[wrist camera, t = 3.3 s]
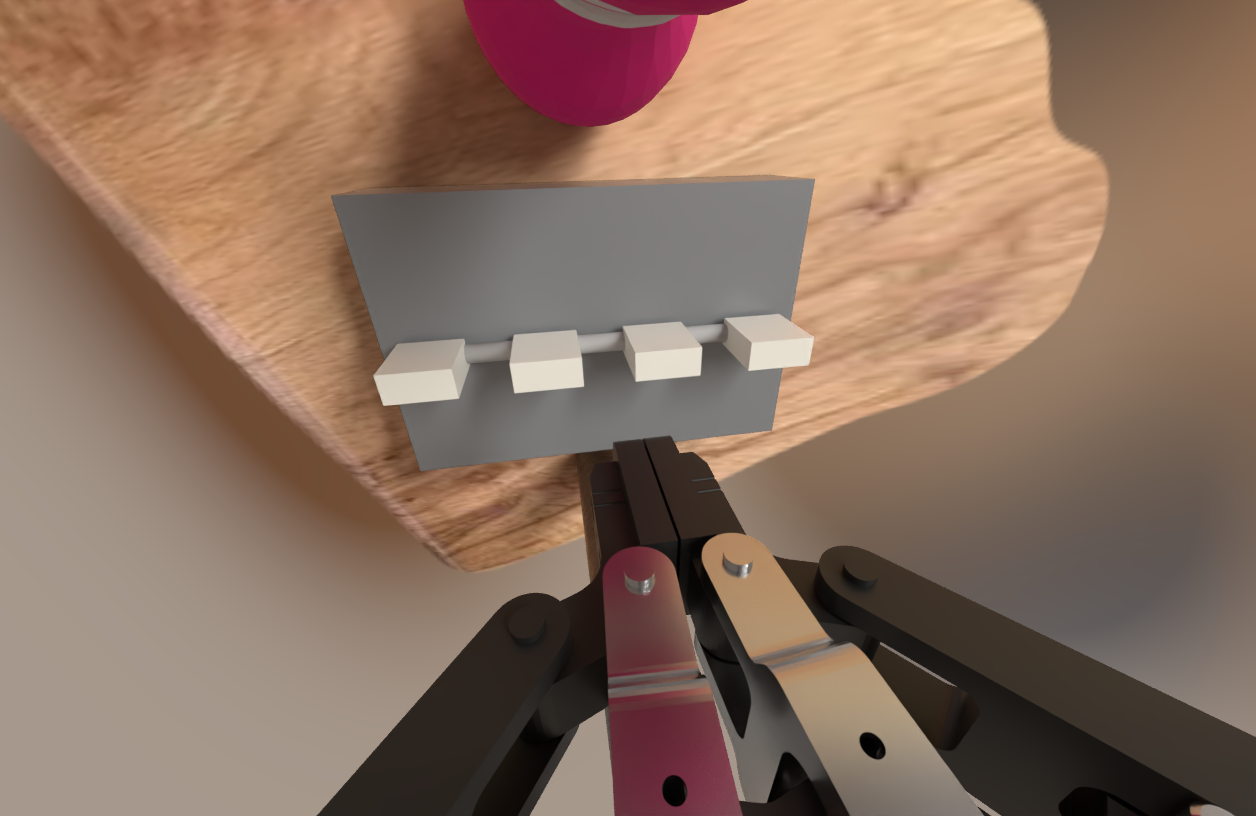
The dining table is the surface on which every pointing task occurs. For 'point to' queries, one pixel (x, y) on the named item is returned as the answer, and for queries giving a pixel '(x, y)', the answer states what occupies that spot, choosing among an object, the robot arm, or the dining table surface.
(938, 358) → the dining table surface
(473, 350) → the breaker paddles
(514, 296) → the breaker panel
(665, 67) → the pepper mill
